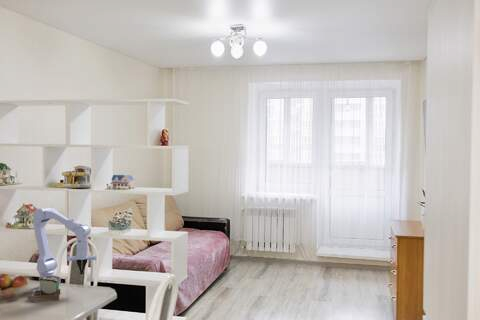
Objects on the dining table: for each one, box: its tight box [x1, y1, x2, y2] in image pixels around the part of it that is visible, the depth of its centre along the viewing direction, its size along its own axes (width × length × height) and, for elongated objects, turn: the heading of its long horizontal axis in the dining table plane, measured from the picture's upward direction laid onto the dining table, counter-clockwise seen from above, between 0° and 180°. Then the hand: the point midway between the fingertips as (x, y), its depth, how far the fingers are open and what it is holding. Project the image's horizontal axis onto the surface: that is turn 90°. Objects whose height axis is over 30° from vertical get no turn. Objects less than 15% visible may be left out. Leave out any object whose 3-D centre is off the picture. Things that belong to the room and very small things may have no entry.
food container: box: [38, 275, 62, 296], centre depth 243 cm, size 12×6×10 cm, turn 69°
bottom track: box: [30, 288, 61, 303], centre depth 241 cm, size 11×13×3 cm
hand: (81, 273), depth 250 cm, fingers closed
